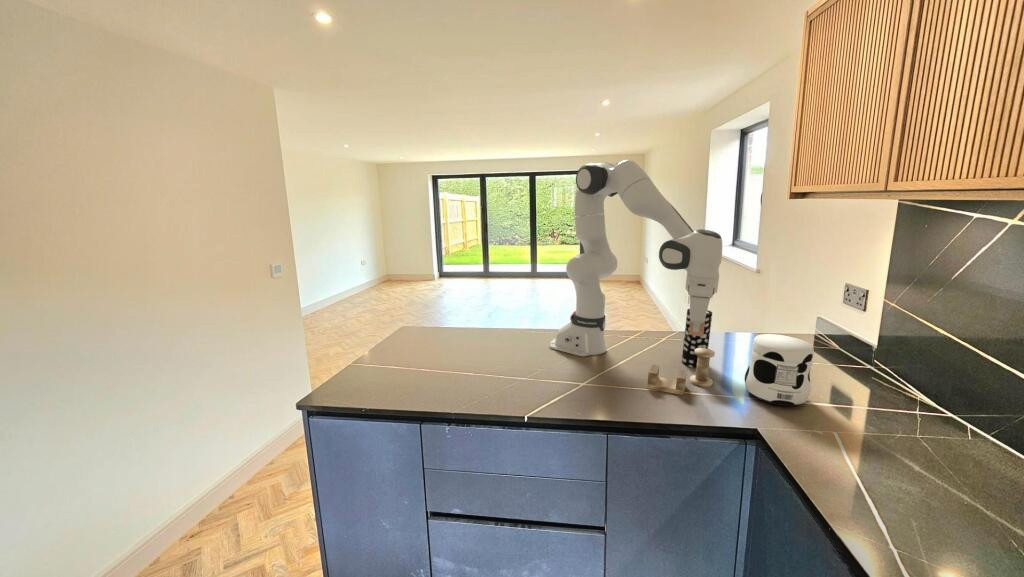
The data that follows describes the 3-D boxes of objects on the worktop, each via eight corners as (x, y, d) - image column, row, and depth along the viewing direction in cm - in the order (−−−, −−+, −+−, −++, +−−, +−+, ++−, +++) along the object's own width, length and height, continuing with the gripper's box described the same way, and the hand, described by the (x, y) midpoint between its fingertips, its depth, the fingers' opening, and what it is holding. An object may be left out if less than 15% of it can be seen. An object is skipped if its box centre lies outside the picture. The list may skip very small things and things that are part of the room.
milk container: (769, 381, 143) (777, 330, 139) (821, 405, 128) (832, 348, 124) (730, 389, 137) (737, 336, 133) (780, 415, 122) (790, 356, 117)
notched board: (647, 388, 137) (648, 372, 136) (650, 379, 144) (651, 364, 142) (683, 395, 133) (685, 378, 132) (685, 386, 139) (686, 370, 138)
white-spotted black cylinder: (702, 370, 152) (709, 316, 147) (678, 364, 157) (684, 311, 152) (708, 362, 158) (714, 310, 154) (685, 357, 163) (690, 307, 158)
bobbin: (688, 384, 140) (692, 353, 138) (690, 376, 147) (693, 346, 144) (712, 388, 138) (716, 356, 135) (712, 380, 144) (716, 349, 141)
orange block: (688, 334, 130) (690, 318, 129) (689, 330, 134) (691, 315, 133) (703, 336, 129) (705, 320, 127) (703, 332, 132) (705, 317, 131)
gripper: (692, 277, 138) (687, 318, 141) (688, 290, 120) (682, 337, 123) (713, 279, 135) (708, 321, 139) (712, 293, 117) (706, 340, 121)
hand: (696, 328), depth 131 cm, fingers closed on orange block, 4 cm apart
